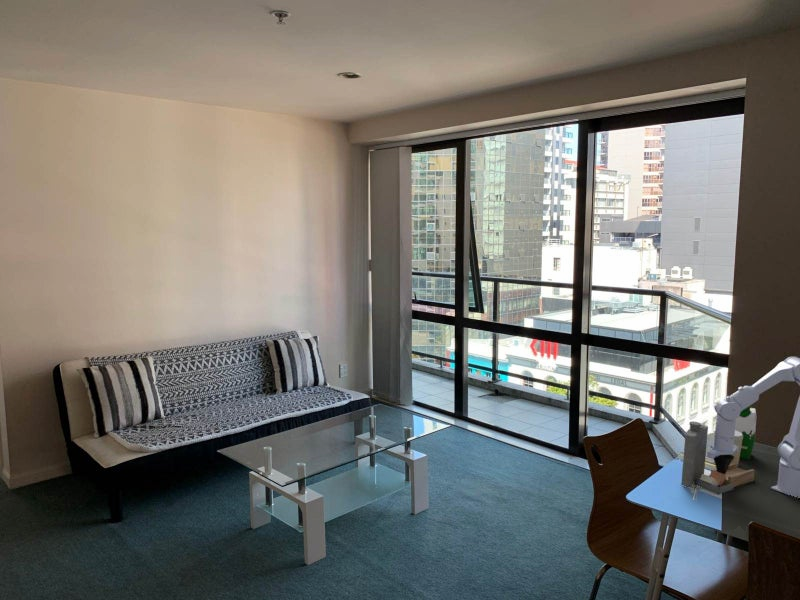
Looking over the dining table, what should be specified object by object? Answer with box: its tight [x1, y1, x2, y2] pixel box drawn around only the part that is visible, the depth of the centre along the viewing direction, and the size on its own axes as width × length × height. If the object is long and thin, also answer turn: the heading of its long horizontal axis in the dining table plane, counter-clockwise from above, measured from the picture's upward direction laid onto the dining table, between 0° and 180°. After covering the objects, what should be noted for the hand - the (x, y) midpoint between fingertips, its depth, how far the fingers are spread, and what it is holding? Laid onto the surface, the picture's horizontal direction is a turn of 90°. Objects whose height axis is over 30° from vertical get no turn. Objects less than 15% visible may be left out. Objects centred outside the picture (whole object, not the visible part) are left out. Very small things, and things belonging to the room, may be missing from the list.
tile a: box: [708, 469, 726, 487], centre depth 197 cm, size 4×4×2 cm
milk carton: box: [735, 405, 757, 460], centre depth 226 cm, size 9×9×20 cm
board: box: [710, 463, 756, 488], centre depth 202 cm, size 7×14×4 cm, turn 120°
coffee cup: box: [713, 430, 743, 467], centre depth 216 cm, size 9×9×12 cm
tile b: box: [700, 473, 719, 487], centre depth 195 cm, size 4×4×2 cm
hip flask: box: [680, 421, 709, 488], centre depth 201 cm, size 16×4×20 cm, turn 137°
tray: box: [695, 478, 734, 495], centre depth 196 cm, size 8×8×2 cm
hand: (721, 475), depth 198 cm, fingers closed, pressing on tile a
